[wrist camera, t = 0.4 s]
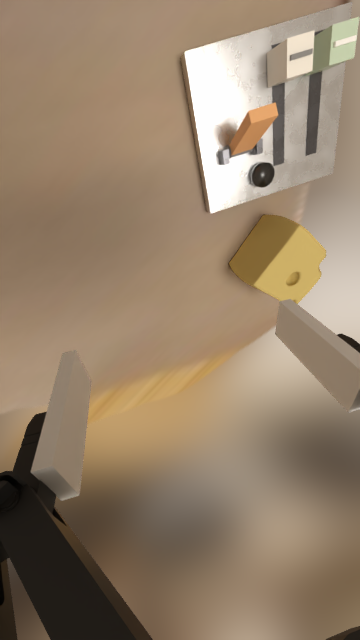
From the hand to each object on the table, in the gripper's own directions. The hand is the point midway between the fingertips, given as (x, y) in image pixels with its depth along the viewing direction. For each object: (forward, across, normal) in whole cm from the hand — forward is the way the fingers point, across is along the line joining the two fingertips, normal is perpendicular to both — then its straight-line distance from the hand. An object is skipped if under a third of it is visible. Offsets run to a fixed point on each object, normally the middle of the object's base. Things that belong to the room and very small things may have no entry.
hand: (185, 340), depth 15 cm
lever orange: (+25, +15, +9) cm, 30 cm away
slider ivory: (+25, +20, +17) cm, 36 cm away
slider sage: (+25, +25, +17) cm, 39 cm away
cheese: (+27, +21, -7) cm, 35 cm away
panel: (+27, +19, +12) cm, 35 cm away
